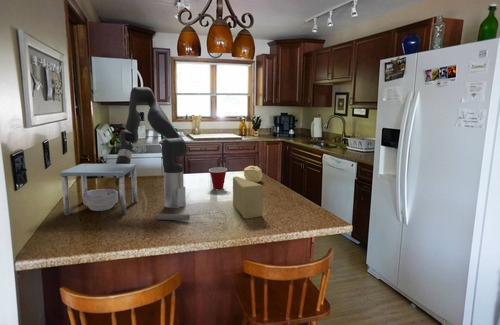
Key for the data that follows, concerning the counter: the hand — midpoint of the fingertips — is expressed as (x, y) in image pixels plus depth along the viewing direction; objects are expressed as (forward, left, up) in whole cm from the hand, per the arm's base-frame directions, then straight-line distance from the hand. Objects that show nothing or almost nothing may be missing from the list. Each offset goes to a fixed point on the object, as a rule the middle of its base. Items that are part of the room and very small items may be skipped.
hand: (118, 184), depth 185 cm
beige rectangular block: (-72, -9, -6) cm, 73 cm away
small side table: (-12, +20, -6) cm, 23 cm away
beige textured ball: (-49, -67, -6) cm, 83 cm away
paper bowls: (-11, +20, -6) cm, 24 cm away
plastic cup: (-39, -40, -6) cm, 56 cm away
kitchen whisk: (-59, +16, -6) cm, 62 cm away
